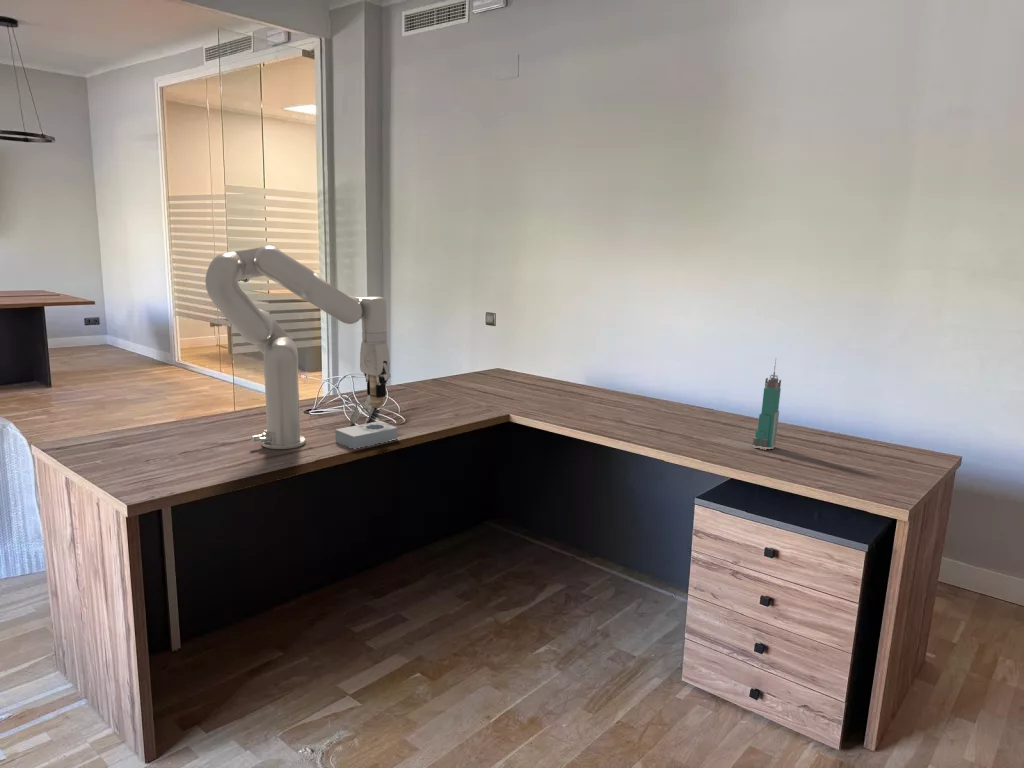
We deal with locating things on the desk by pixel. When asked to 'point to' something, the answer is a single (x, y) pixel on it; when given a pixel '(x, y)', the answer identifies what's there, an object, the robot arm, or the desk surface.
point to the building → (769, 413)
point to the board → (366, 434)
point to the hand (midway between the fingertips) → (376, 395)
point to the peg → (374, 393)
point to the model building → (366, 407)
